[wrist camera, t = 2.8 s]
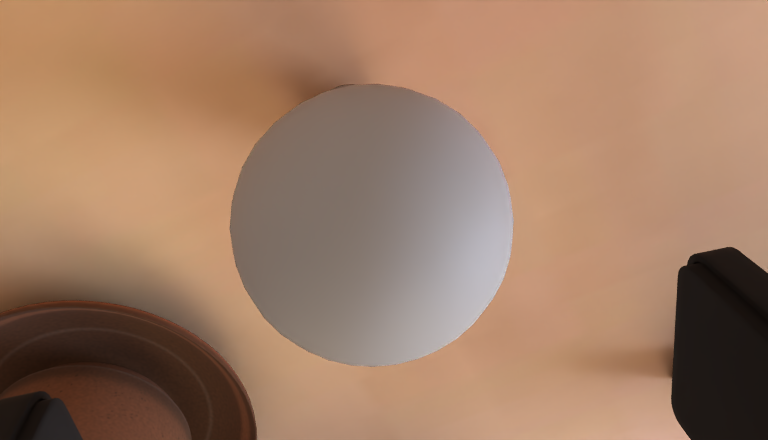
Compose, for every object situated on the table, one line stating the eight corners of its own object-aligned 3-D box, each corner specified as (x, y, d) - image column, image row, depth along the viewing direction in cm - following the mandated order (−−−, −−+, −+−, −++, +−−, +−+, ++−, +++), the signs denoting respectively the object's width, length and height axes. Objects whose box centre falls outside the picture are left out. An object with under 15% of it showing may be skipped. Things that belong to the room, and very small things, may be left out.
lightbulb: (255, 197, 22) (219, 435, 12) (253, 13, 20) (205, 134, 10) (429, 201, 23) (523, 427, 13) (450, 25, 20) (588, 148, 11)
